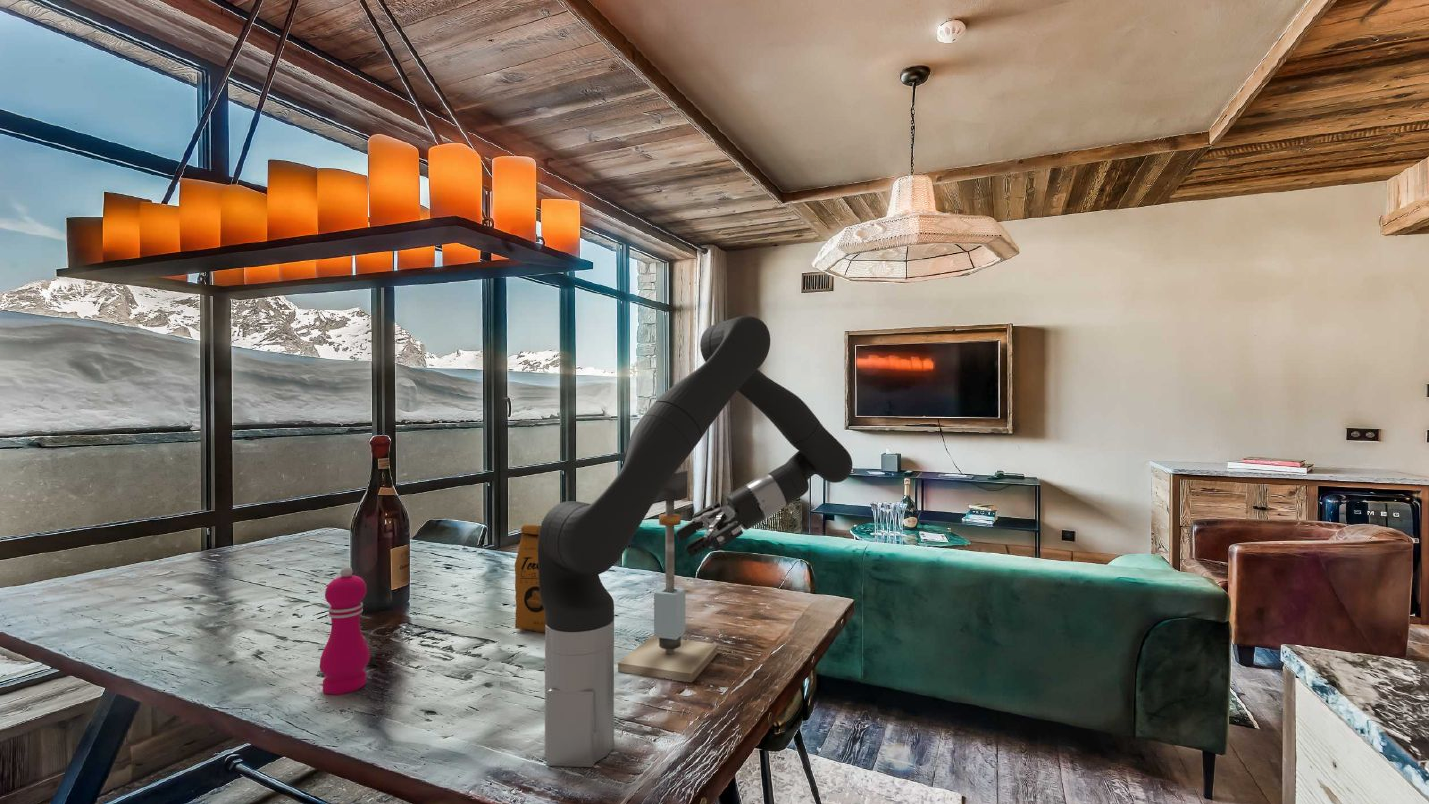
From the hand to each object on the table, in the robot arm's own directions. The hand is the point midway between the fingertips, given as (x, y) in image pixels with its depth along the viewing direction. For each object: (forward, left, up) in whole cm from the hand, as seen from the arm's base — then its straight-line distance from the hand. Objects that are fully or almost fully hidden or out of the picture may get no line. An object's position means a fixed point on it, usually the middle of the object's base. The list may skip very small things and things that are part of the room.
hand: (682, 544), depth 113 cm
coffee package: (+15, +31, -22) cm, 41 cm away
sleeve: (-1, +2, -16) cm, 17 cm away
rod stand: (-1, +2, -21) cm, 22 cm away
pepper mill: (-15, +55, -22) cm, 61 cm away
